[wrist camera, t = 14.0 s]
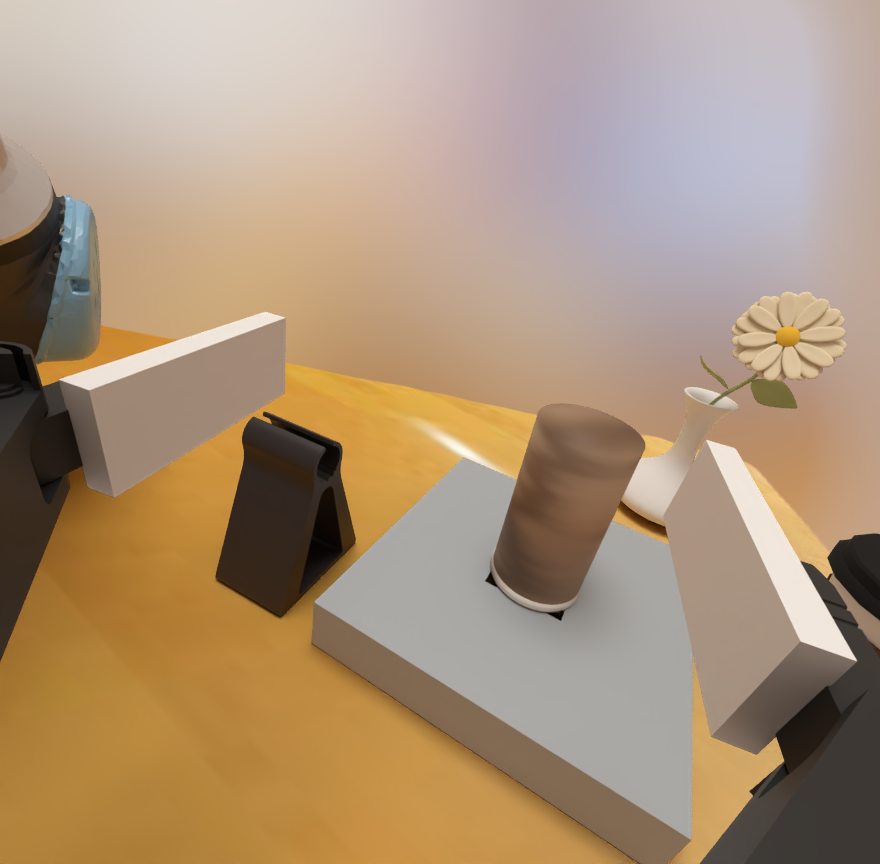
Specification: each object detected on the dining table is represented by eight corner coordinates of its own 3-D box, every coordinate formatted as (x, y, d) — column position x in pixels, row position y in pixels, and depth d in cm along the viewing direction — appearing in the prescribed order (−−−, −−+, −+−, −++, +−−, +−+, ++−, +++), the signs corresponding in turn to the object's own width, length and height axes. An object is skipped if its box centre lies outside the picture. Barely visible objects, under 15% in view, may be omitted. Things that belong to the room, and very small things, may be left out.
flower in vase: (586, 491, 51) (679, 264, 39) (636, 468, 58) (728, 269, 46) (697, 567, 43) (858, 309, 31) (740, 529, 50) (885, 306, 38)
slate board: (311, 643, 30) (313, 602, 28) (456, 488, 47) (463, 457, 45) (655, 874, 22) (691, 840, 20) (673, 588, 40) (693, 555, 38)
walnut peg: (465, 582, 36) (516, 403, 28) (534, 568, 38) (597, 402, 31) (505, 656, 31) (580, 463, 23) (581, 634, 33) (671, 454, 26)
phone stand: (279, 619, 31) (279, 477, 25) (215, 580, 33) (201, 439, 27) (355, 543, 38) (369, 420, 32) (300, 515, 40) (303, 393, 34)
